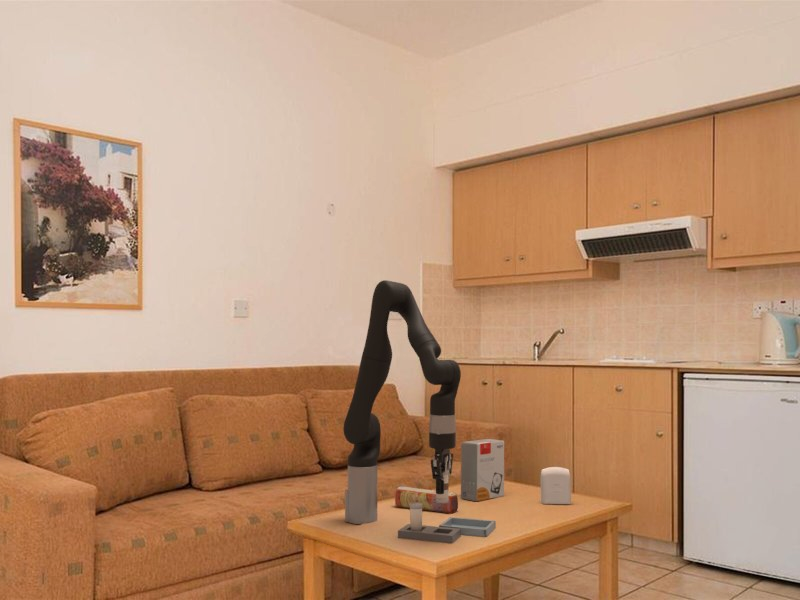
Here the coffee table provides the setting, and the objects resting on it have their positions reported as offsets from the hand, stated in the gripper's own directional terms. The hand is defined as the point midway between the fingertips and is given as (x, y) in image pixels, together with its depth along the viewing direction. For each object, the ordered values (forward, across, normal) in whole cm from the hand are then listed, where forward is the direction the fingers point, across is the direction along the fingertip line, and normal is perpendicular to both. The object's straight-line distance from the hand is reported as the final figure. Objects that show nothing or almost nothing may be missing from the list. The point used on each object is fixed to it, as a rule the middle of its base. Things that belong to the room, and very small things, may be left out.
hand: (442, 492), depth 208 cm
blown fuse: (+3, 0, 0) cm, 3 cm away
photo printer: (+13, -58, +22) cm, 64 cm away
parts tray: (+13, -11, +4) cm, 18 cm away
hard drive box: (+14, -59, -4) cm, 61 cm away
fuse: (+13, 0, -8) cm, 15 cm away
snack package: (+14, -35, -17) cm, 41 cm away
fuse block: (+13, 0, -4) cm, 14 cm away
